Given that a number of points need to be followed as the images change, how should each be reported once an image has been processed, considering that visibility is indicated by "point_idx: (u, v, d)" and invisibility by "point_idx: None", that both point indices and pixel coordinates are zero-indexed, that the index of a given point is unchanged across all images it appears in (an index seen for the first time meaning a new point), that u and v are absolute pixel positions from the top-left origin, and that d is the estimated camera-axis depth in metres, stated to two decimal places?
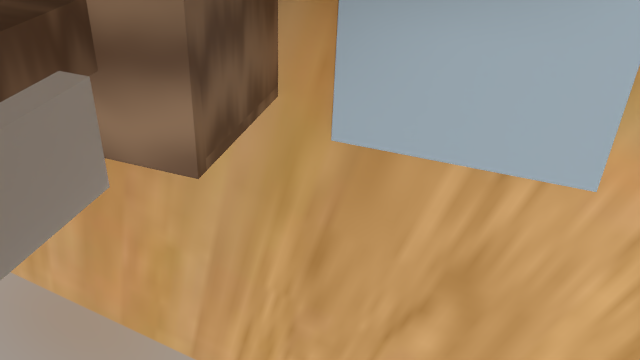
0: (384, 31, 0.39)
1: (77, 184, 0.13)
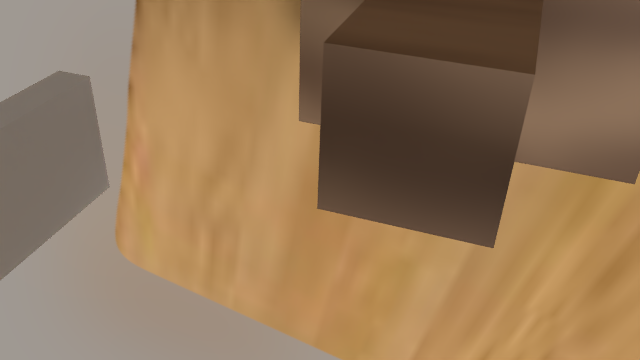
0: None
1: (77, 184, 0.13)
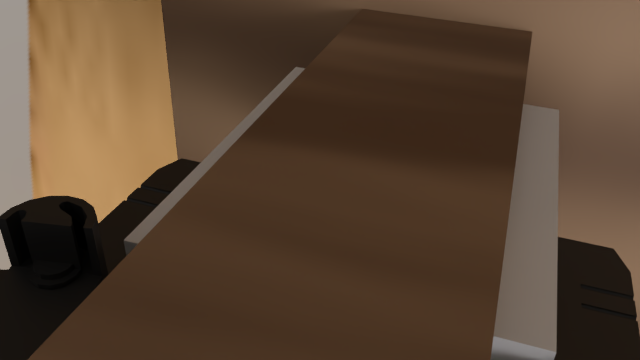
0: None
1: None
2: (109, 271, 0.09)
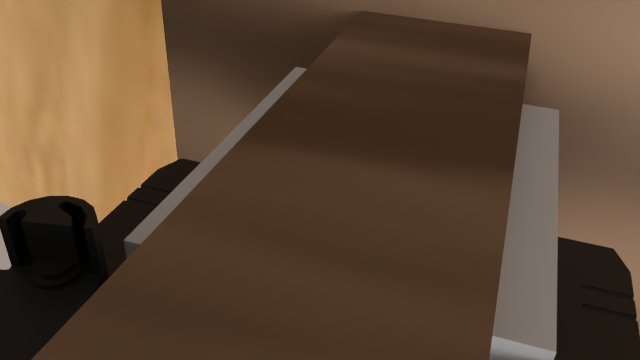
0: None
1: None
2: (109, 271, 0.09)
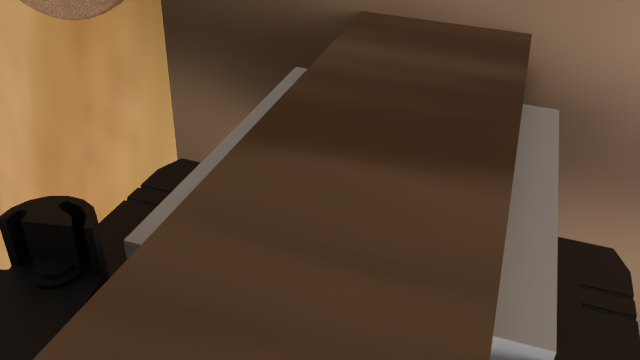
0: None
1: None
2: (109, 271, 0.09)
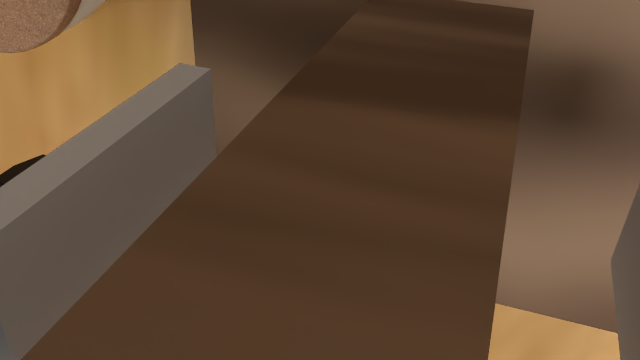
0: None
1: (196, 172, 0.13)
2: None
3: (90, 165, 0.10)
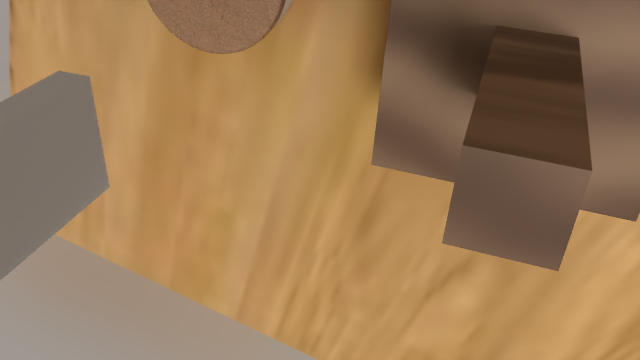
0: None
1: (77, 184, 0.13)
2: None
3: None
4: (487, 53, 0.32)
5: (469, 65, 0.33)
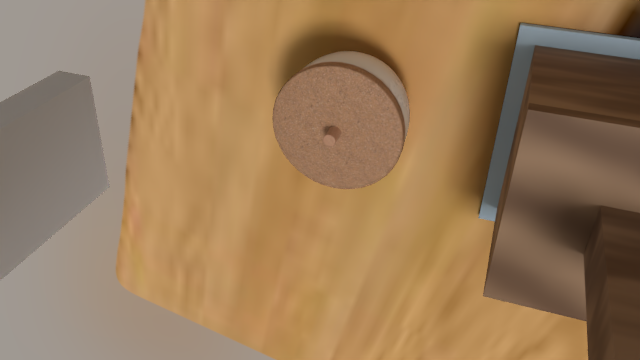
0: None
1: (77, 184, 0.13)
2: None
3: None
4: (591, 224, 0.39)
5: (574, 231, 0.40)
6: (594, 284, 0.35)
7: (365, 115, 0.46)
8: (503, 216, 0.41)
